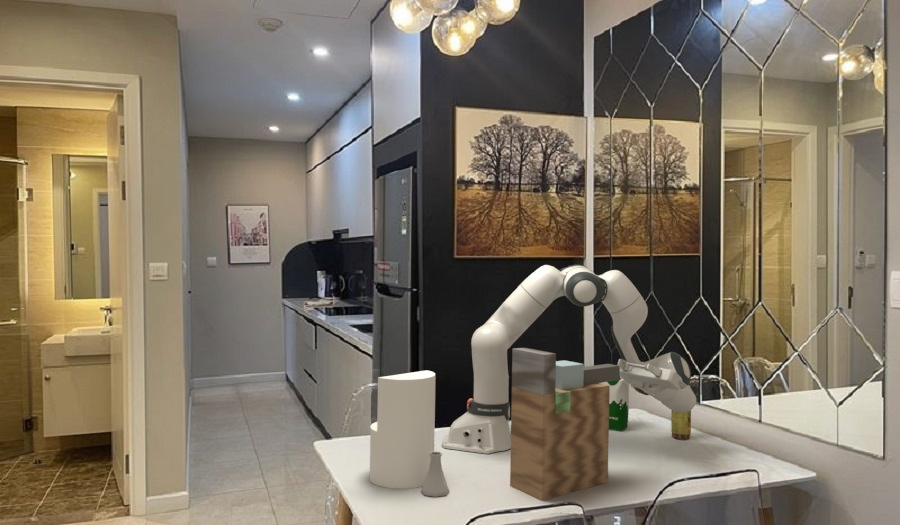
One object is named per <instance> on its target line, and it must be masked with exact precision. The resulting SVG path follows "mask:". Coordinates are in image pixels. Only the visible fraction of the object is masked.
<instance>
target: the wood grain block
mask: <svg viewBox="0 0 900 525" xmlns="http://www.w3.org/2000/svg"><path fill="white" fill-rule="evenodd" d="M511 358H512V362H511V363H512V365H511V406H510V418H511V420H510V436H511V448H510V467H509V468H510V469H509V470H510V471H509V473H510V474H509V477H510V478H509V486H510V487H511V486H512V488H514V489H516V490H518V491H521V492H522V493H525V494H527V495H528V496H531V497H534V498H535V499H538V500H539V501H544V500H548V499H553V498H555V497H559V496H563V495H566V494H570V493H574V492H577V491H581V490H585V489H589V488H592V487H596V486H600V485H604V484H608V483H609V436H610V435H609V434H610V430H609V391H610V386H609V385H605V384H602V383H595V384H588V385H583V387H578V388H571V389H564V390H560V389H556V388H555V385H556V361H557V353H554V352H550V351H546V350H545V351H543V350H540V349H539V350H538V349H534V348H528V347H517V348H512V357H511Z"/></svg>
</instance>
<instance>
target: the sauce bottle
mask: <svg viewBox="0 0 900 525" xmlns="http://www.w3.org/2000/svg"><path fill="white" fill-rule="evenodd" d="M670 418H671V423H670V424H671V426H670V427H671V428H670V429H671V430H670V432H671V437H672V438H673V439H676V440H683V441H685V440H686V441H687V440H690V439H691V433H692V410H690V411H689V412H686V413H677V412H675V411H672V410H671V417H670Z"/></svg>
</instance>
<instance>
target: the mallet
mask: <svg viewBox="0 0 900 525" xmlns="http://www.w3.org/2000/svg"><path fill="white" fill-rule="evenodd" d="M619 373H620V366H618V365H617V364H611V363H605V364H604V363H603V364H595V365H588V366H585V365H584V363H580V362H576V361H569V360H565V359H564V360H558V361H557V360H556V385H555V388H556V389H560V390H564V389H571V388H578V387H583V385H588V384H595V383H600V384H602V382H610V381H617V380H619Z"/></svg>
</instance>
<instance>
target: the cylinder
mask: <svg viewBox="0 0 900 525" xmlns="http://www.w3.org/2000/svg"><path fill="white" fill-rule="evenodd" d="M376 413H377V417H376V418H377V420H376V421H375V422H373V423H372V424H371V425H370V433H369V434H370V439H369V440H370V441H369V442H370V444H369V450H370V451H369V480H370V481H371V482H372V483H371V484H374V485H377V486H380V487H383V488H386V489H387V488H389V489H397V490H398V489H403V490H404V489H414V488H418V487H423V484H424V481H425V479H426V476H427V473H428V470H429V466H430V459H431V457H430V454H429V453H430V452H435V427H436V426H435V421H436V419H435V418H436V373H435V372H434V371H431V370H419V371H414V372H412V371H411V372H407V373H400V374H399V373H398V374H393V375H386V376H379V377H377V412H376Z"/></svg>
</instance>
